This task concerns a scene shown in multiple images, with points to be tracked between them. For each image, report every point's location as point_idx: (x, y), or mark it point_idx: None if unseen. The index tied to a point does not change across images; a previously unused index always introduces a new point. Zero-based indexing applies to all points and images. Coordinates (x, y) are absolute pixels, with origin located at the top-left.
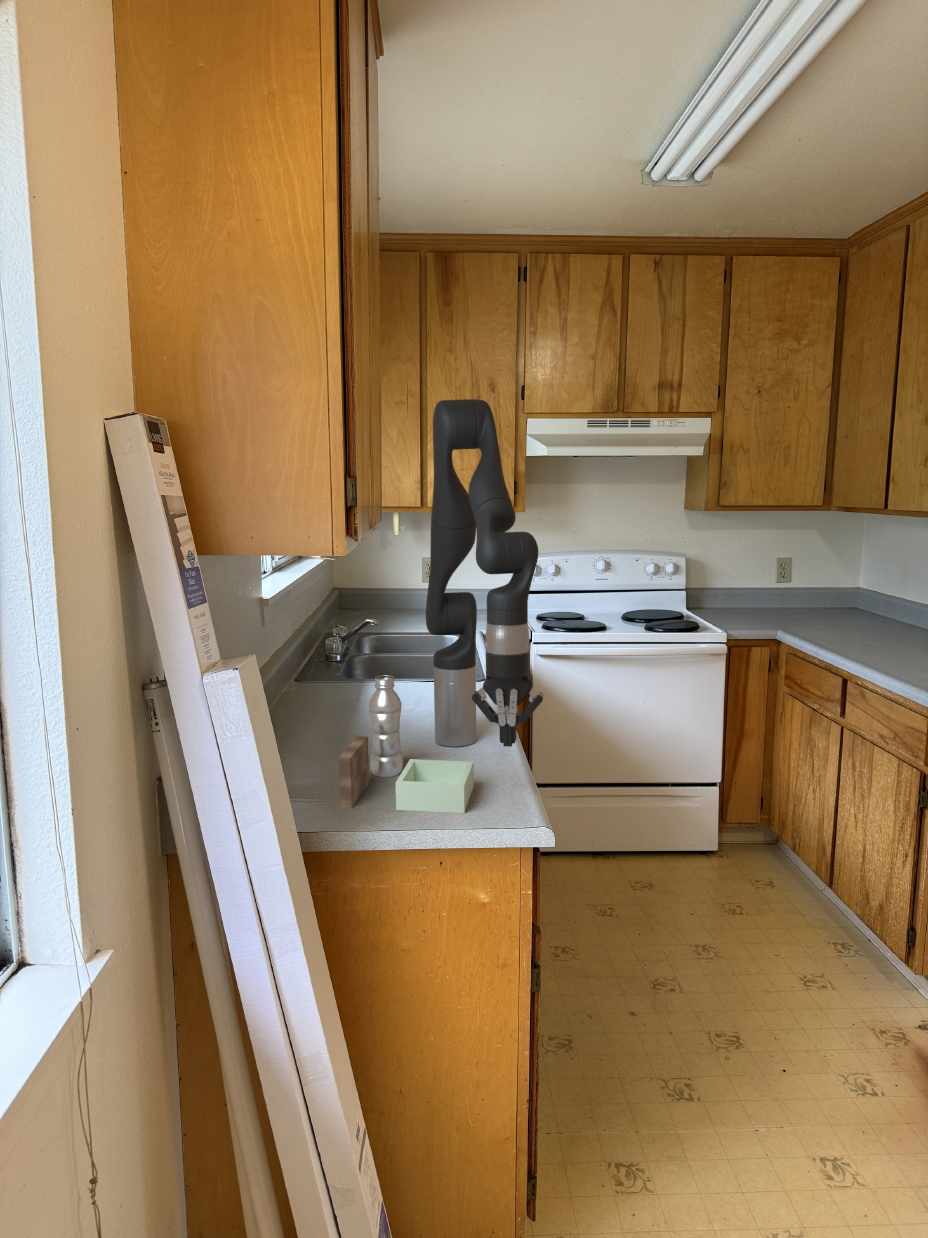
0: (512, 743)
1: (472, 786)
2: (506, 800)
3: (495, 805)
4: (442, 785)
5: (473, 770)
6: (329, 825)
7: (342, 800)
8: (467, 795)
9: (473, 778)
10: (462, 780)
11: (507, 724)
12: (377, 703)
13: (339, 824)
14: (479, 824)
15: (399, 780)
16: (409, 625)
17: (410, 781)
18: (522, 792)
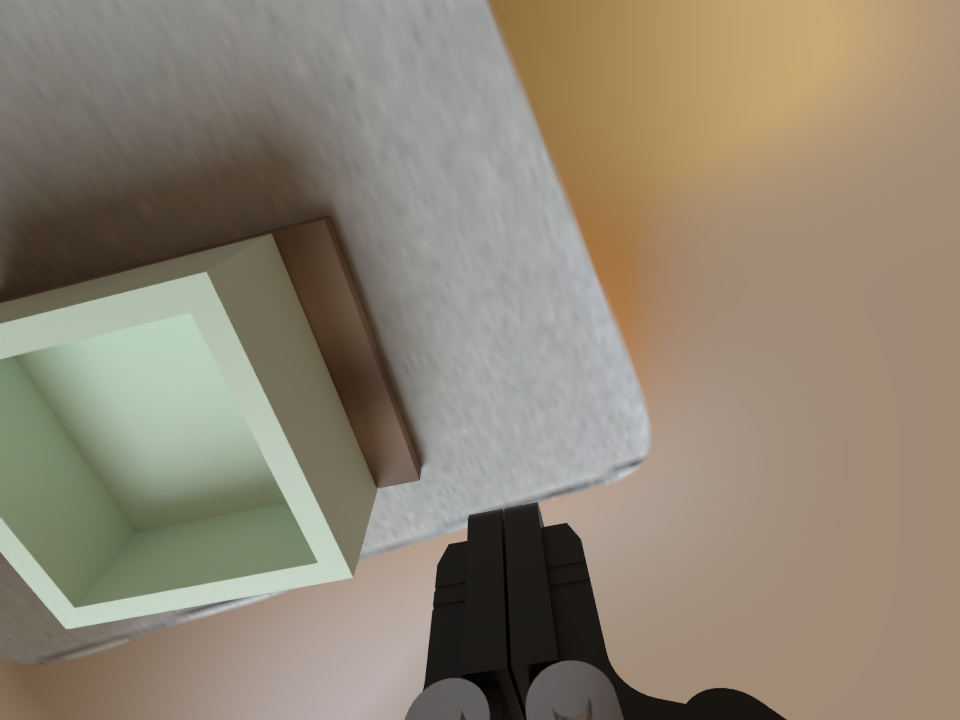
0: (539, 509)
1: (281, 281)
2: (466, 268)
3: (440, 335)
4: (260, 592)
5: (233, 260)
6: (33, 629)
7: None
8: (337, 439)
9: (254, 250)
10: (313, 532)
11: (513, 703)
12: None
13: (52, 617)
14: (450, 498)
15: (60, 608)
16: None
17: (109, 603)
18: (508, 141)
